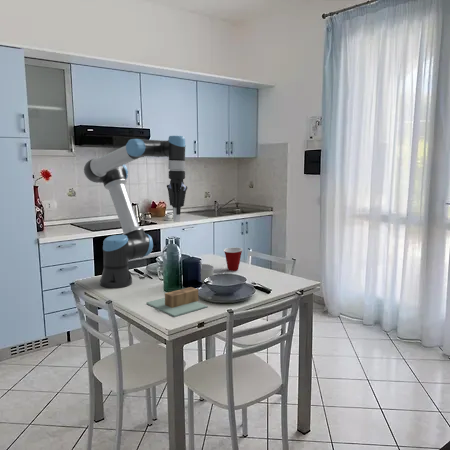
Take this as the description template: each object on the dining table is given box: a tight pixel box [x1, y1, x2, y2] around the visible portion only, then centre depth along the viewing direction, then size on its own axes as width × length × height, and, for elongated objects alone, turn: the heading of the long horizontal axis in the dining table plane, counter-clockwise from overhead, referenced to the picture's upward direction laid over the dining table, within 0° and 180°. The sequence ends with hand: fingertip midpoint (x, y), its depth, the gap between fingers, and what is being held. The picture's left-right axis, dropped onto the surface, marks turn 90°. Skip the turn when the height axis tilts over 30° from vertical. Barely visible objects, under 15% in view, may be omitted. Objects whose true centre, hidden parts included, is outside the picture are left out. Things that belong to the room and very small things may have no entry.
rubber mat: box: [146, 297, 208, 318], centre depth 177 cm, size 20×17×1 cm
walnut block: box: [164, 286, 199, 308], centre depth 179 cm, size 5×5×14 cm
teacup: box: [200, 263, 215, 284], centre depth 212 cm, size 14×11×8 cm
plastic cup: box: [223, 246, 243, 272], centre depth 236 cm, size 11×11×12 cm
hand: (176, 221), depth 196 cm, fingers closed
